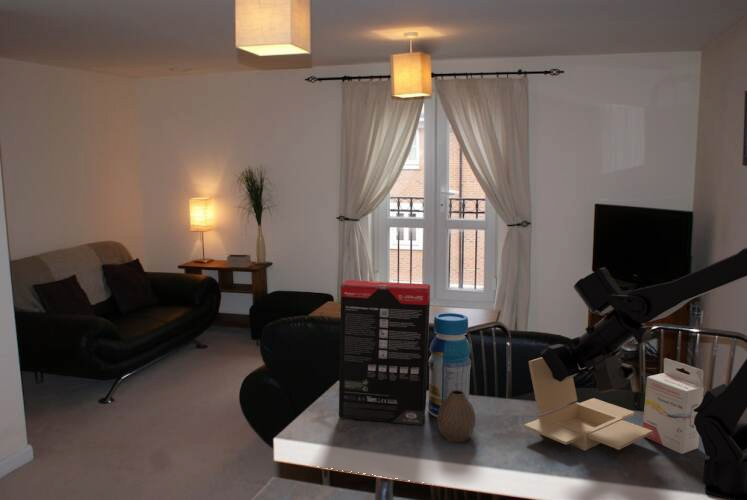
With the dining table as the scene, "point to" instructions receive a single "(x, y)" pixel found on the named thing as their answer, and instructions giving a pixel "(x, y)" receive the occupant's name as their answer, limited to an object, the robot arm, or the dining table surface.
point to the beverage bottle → (448, 359)
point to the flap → (550, 387)
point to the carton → (589, 425)
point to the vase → (456, 417)
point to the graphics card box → (384, 351)
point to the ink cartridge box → (673, 406)
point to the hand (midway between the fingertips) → (554, 377)
